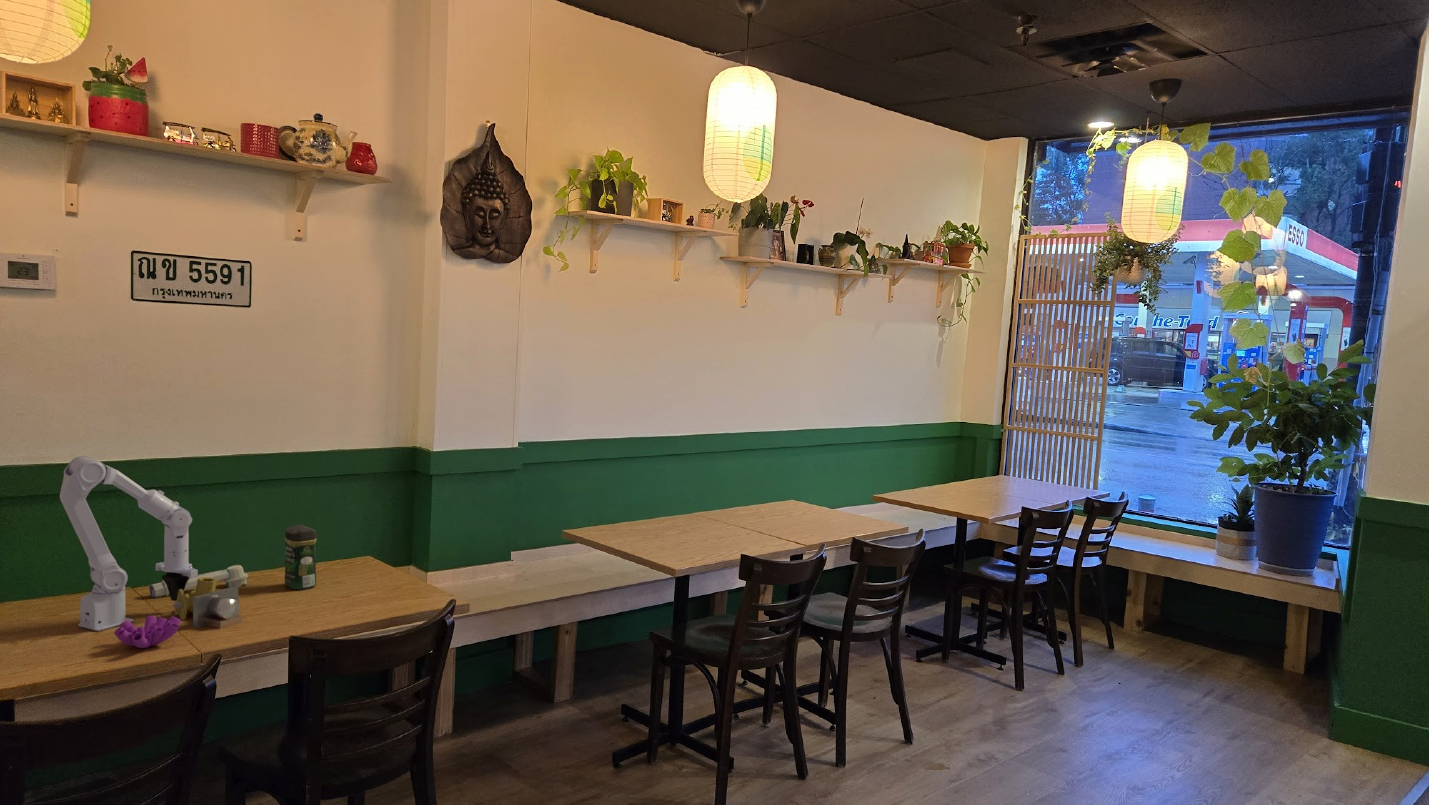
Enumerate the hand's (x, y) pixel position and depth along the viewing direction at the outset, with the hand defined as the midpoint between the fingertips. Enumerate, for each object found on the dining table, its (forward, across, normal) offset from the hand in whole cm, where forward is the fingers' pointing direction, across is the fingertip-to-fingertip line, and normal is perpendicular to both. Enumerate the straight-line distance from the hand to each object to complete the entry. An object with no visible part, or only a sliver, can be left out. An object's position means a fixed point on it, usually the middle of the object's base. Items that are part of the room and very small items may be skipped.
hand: (176, 599), depth 252 cm
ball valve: (+4, -7, -1) cm, 8 cm away
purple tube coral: (+4, -18, +20) cm, 27 cm away
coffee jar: (+4, -7, -35) cm, 36 cm away
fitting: (+3, -18, 0) cm, 18 cm away
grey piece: (+4, +13, -17) cm, 21 cm away
